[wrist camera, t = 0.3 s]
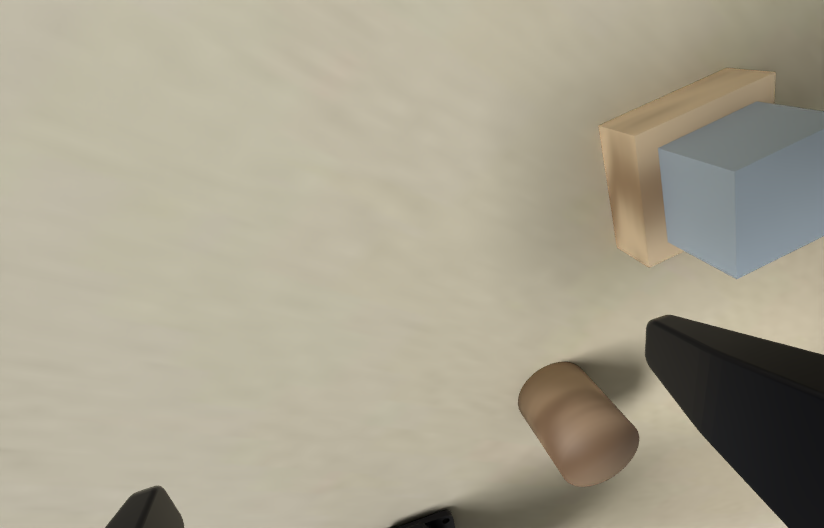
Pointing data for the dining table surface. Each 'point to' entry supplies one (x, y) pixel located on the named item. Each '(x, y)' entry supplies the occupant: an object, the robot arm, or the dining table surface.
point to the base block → (639, 160)
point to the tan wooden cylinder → (577, 424)
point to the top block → (746, 186)
